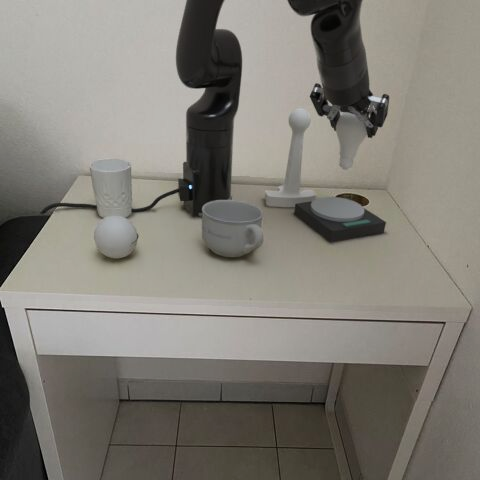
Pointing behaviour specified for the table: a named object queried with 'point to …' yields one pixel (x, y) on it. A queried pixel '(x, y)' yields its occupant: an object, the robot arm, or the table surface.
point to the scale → (339, 218)
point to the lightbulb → (349, 138)
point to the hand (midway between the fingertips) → (354, 130)
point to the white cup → (112, 186)
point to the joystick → (293, 166)
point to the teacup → (232, 227)
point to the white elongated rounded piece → (115, 236)
